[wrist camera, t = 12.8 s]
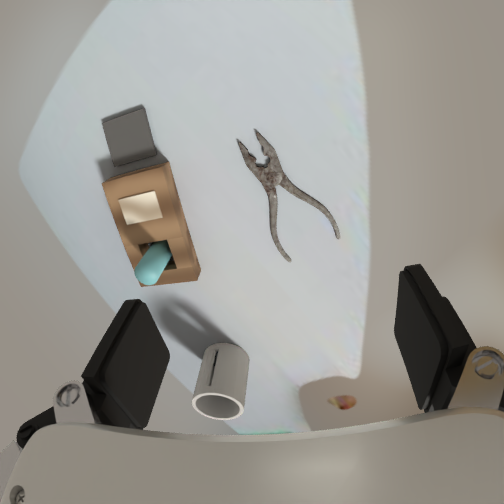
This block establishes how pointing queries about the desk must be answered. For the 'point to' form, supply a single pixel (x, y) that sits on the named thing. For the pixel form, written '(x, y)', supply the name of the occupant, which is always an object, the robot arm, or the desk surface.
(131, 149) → the pad
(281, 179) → the pliers
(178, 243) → the wooden peg hole block
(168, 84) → the desk surface
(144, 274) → the peg
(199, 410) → the cup
